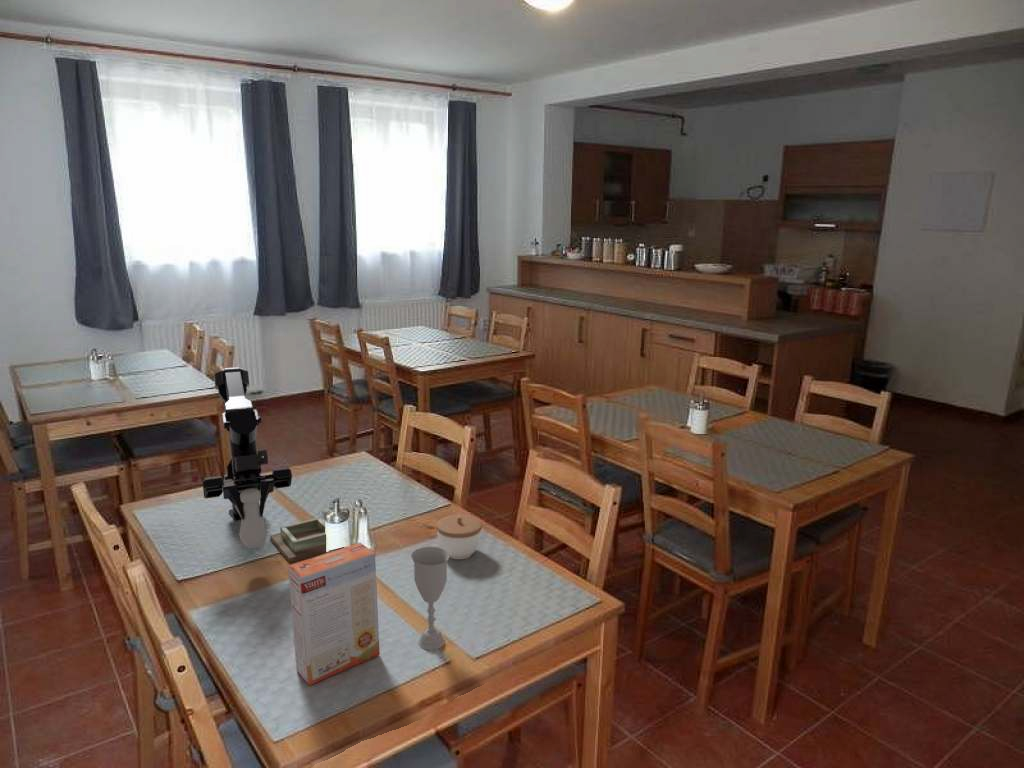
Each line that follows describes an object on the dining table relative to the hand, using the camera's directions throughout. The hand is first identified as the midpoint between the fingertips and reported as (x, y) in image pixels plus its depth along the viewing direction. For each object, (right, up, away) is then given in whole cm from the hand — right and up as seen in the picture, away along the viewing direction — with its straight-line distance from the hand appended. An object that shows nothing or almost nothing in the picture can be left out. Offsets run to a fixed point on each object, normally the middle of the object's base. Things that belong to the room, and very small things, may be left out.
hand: (252, 517), depth 154 cm
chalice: (+42, -20, -22) cm, 51 cm away
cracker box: (+26, -21, -28) cm, 44 cm away
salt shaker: (-1, -7, +3) cm, 7 cm away
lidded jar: (+45, -11, +13) cm, 48 cm away
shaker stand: (+8, -9, +16) cm, 20 cm away
